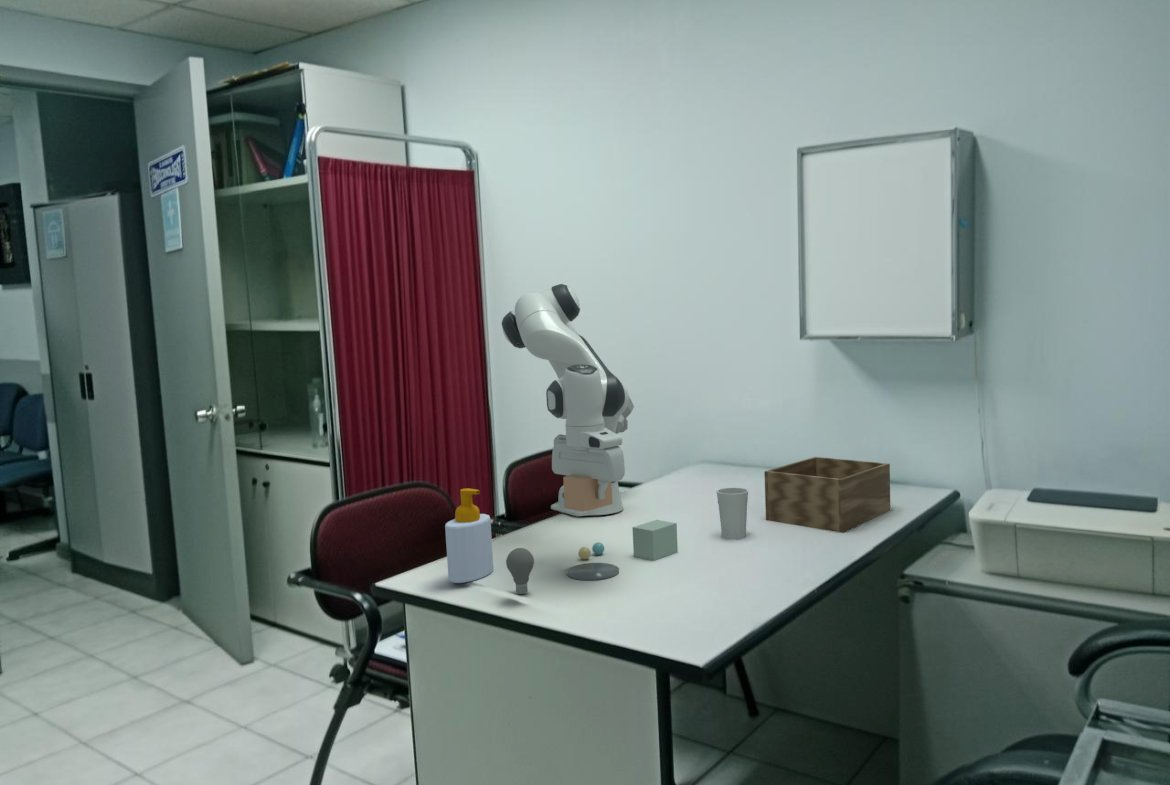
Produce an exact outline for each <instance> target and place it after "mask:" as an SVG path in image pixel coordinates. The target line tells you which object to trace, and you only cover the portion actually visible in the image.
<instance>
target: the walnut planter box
mask: <svg viewBox="0 0 1170 785" xmlns="http://www.w3.org/2000/svg"><path fill="white" fill-rule="evenodd" d="M890 466H891V463H887V462H874V461H867V460H866V461H863V460H853V459H843V458H833V457H832V458H831V457H823V456H821V457H820V456H813V457H809V458H806V459H803V460H800V461H796V462H795V461H794V462H793V463H788V464H786V465H782V466H779V467H776V468H772V469H768V470H765V471H764V472H763V473H764V501H765V502H764V504H765V507H764V508H765V521H767V522H768V521H769V522H775V523H781V524H787V525H793V526H799V527H806V528H812V529H818V530H823V531H829V532H835V533H840V534H841V533H842V534H844V533H846V532H848V531H851V530H852V529H854V528H856V527H859V526H860V525H863V524H865V523H867V522H869V521H871V520H874V519H875V518H878V517H880V516H881V515H884V514H886V513H888V512H891V473H890V472H891V468H890Z"/></svg>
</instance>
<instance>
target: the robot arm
mask: <svg viewBox="0 0 1170 785" xmlns="http://www.w3.org/2000/svg"><path fill="white" fill-rule="evenodd" d="M580 312H581V307H580V301H579V298H578V295H577V294H576V292H574V290H573V289H572V288H570V287H569V286H568V285H566V284H564V283H559V284H556V285H553V286H551V288H549V289H547V290H545V291H542V292H535V291H531V292H527V293H524V294H523V295H521V296H520V297H519V298H518V299H517V301H516V302H515V306H514V309H513V310H512V311H508V313H507V314H505V315H504V316H503V318H502V321H501V326H502V333H503V335H504V337H505V339H506V340H507V341H508V342H509V343H510V344H511V345H512V346H513V347H515V348H516V349H517V348H518V349H524V348H526V349H527V351H528V352H529V353H530V354H531V355H533V356H534V357H536V358H539V359H542V360H546V361H548V362H549V364H550V366H551V368H553V370H554V372H555V374H556V376H557V379H555V380H553V381H552V382H551V383H550V384H549V385H548V387H547V388H546V393H545V394H546V407H547V411H548V412H550V414H551V415H552V416H553V417H555V418H556V419H561V420H565V434H562V433H561V434H558V435H557V436H555V438H554V439H553V447H552V454H551V470H552V472H553V473H554V474H555V475H561V476H569V475H576V476H583V477H591V478H592V479H596V480H598V484H599V485H600V486H599V489H598V491H595V495H596V499H604V498H605V491H606V488H607V486H608V484H609V481H610V482H611V484H612V504H611V505H607V506H603V507H600V508H596V509H593V510H589V511H585V512H584V511H578V510H572V509H567V508H565V501H564V484H562V486H561V487H560V488H559V491H558V501H556V502H555V503H553V504H551V505H550V509H551V510H554V511H558V512H560V513H564V514H567V515H571V516H575V517H583V516H585V517H586V516H603V515H604V516H605V515H609V514H616V513H618V512H621V511H623V510H624V507H623V506H624V505H623V501H622V499H621V495H620V488H619V487H620V486H619V482H618V481H621V480H623V479H624V477H625V474H626V473H625V472H626V468H625V467H626V466H625V455H624V452H623V449H622V448H621V447H620V446H621V445H622V444H623V437H622V436H621V435H620V434H619V433H618V434H616V433H615V431H616V427H617V423H618V420H619V417H620V415H621V414H622V413H623V412H624V411H625V409H626V408H627V405H628V401H629V397H630V395H629V393H628V390H627V388H626V386H624V385H623V383H622V382H621V381H620V379H619V378H618V377H617V376H616V375H614V373H612V372H611V371H610V369H609V368H608V367H607V366H606V364H605V363H604V362H603V361H602V359H601V358H600V356H599V355H598V353H597V352H596V351H595V350H594V349H593V347H592V346H591V344H590V343H589V341H588V340H587V339H586V338H585V337H584V336H582V335H580V334H579V333H578V332H577V330H576V329H575V326H574V325H573V324H572V323H571V322H573V321H574V320H576V318H577V317H578V316H580V315H579V314H580ZM628 395H629V396H628Z"/></svg>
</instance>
